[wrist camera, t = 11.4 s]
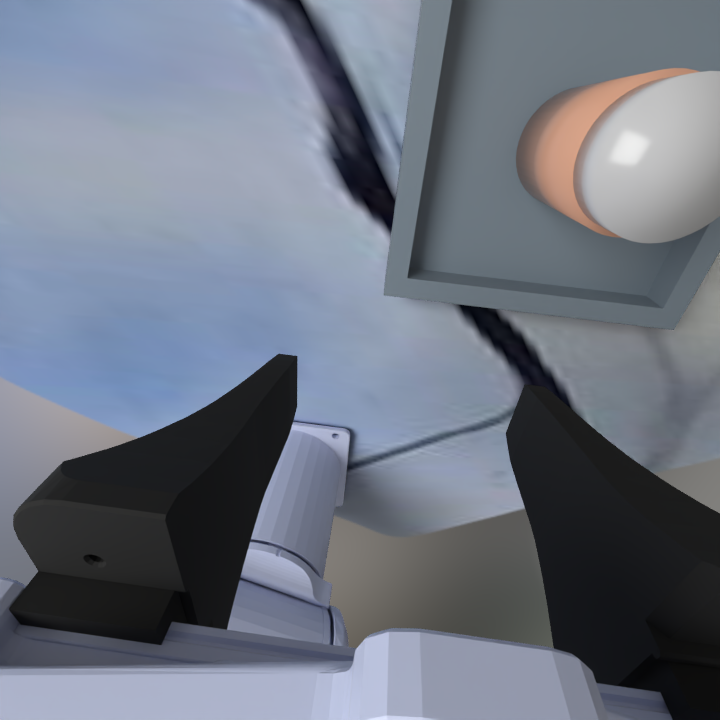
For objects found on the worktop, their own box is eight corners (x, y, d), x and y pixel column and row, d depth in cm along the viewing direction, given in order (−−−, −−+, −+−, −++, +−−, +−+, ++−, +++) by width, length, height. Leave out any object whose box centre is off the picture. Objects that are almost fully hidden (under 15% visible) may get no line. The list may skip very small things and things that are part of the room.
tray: (385, 277, 21) (383, 295, 19) (434, -101, 14) (440, -138, 12) (646, 308, 21) (673, 329, 19) (841, -63, 14) (922, -95, 11)
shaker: (503, 198, 18) (561, 240, 11) (535, 79, 16) (630, 49, 9) (600, 210, 18) (714, 259, 11) (647, 93, 16) (823, 72, 9)
